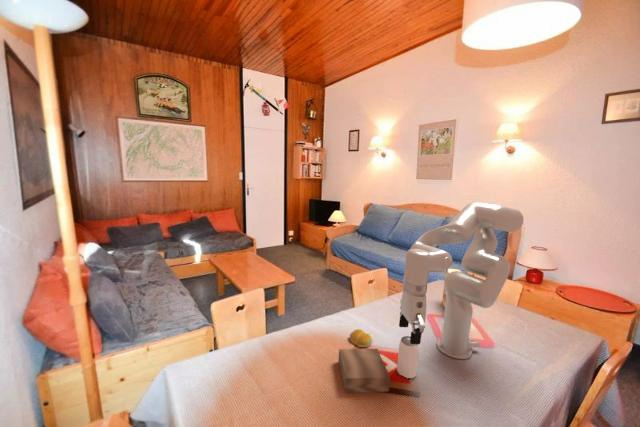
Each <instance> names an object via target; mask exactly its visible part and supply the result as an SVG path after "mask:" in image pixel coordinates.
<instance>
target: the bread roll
mask: <svg viewBox="0 0 640 427" xmlns="http://www.w3.org/2000/svg"><path fill="white" fill-rule="evenodd" d="M349 339H350V342H351V343H352V344H354V345H355V346H356V345H357V347H358V348H368V347H371V345H372V342H373V338H372V336H371V335H370V333H367V332H365V331H364V330H363V329H359V328H358V329H355V330H353V331H352V332H350V334H349Z"/></svg>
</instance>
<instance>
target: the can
mask: <svg viewBox="0 0 640 427" xmlns="http://www.w3.org/2000/svg"><path fill="white" fill-rule="evenodd" d="M410 338H411V335H410V336H409V335H405V336H402V337H401V339H400V341H399V345H398V354H397V355H398V356H397V364H396V366H397V367H396V371H397V373H398V374H399V376H401V375H402V376H404V377H407V378H406V379H408V378H411V379H413V378H416V376H417V372H418V363H419V354H420V344H411V343H410ZM402 376H401V377H402ZM404 377H403V378H404Z"/></svg>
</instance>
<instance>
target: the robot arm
mask: <svg viewBox="0 0 640 427" xmlns="http://www.w3.org/2000/svg"><path fill="white" fill-rule="evenodd" d="M523 224H524V215H523V213H522V212H521V211H520V210H518V209H515V208H513V207H508V206H503V205H500V204H493V203H492V204H491V203H485V202H473V201H472V202H470V203H468V204H466V205H465V206H464V207H463V208H462V209H461V210H460V211H459V212H457V214H456V215H455V216H454V217H453V218H451V220H450V221H449V222H448V223H447V224H444V225H442V226H439V227H436V228H433V229H430V230H428V231H427V232H424V233H423V234H422V235H420V236H419V237H418V239H416V240H415V242H414V243H413V244H412V245H411V246H410V248H409V249H408V250H407V251H406V255H405V262H404V263H405V264H404V269H403V271H404V272H403V279H402V281H403V282H402V289H401V290H402V294H401V299H400V300H399V301H400V306H399V310H400V312H399V322H398V327H399V328H408V327H409V324H410V325H411V331H410V337H411V338H410V343H411V344H418V345H420V344H421V341H422V340H421V339H422V335H423V333H424V332H425V331H424V330H425V328H426V317H427V290H428V283H429V275H430V273H446V271H447V270H448V269H451V267H452V264H453V257H452V255H451V254H450V253H449V252H448V251H446V250H444V249H440V248H438V246H441V245H442V246H443V245H455V244H457V245H458V244H461V243H462V244H463V243H465V242H467V241H469V240H470V238H471V237H473V238H472V241H471V242H470V244H469V246H468V247H467V250H466V251H465V253H464V255H463V257H462V259H461V262H460V263H461V267H462V268H463V269H464V271H466V272H469V273H466V272H464V271H461V270H460V271H461V272H460V271H453V272H451V273H449V274H448V275H447V277H446V280H445V279H444V282H445V289H446V305H445V307H444V313H443V314H444V315H443V322H442V332H441V337H440V338H438V339H437V340H436V348H437V349H438V350H439V351H440V352H441V353H443V354H444V355H445V356H448V357H450V358H454V359H458V360H466V359H469V358H471V356H472V353H473V350H472V348H473V347H475V348H478V347H481V344H480V341H476V340H475V341H474V340H473V338H472V337H471V338H470V334H471V327H472V318H473V313H474V312H473V311H474V310H473V306H472V304H473V305H476V306H478V307H481V308H482V309H489V308H491V307H492V306H494V304H495V303H496V301H497V299H498V297H499V295H500V293H501V291H502V290H503V288H504V286H505V283H506V282H507V280H508V277H509V275H510V272H511V263H510V261H509V259H508V258H507V257H505V256H504V255H503V256H502V255H500V254H496V253H495V251H496V250H497V247H498V245H499V244H498V243H499V242H498V239H497V236H496V235H495V232H494V231H493V230H497V231H502V232H507V233H517V231H519V230H521V228H522V227H523ZM472 274H473V275H472ZM475 275H476V276H475ZM478 276H479V277H478ZM480 277H482V278H480ZM483 278H484V279H483ZM416 326H418V327H416Z"/></svg>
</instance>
